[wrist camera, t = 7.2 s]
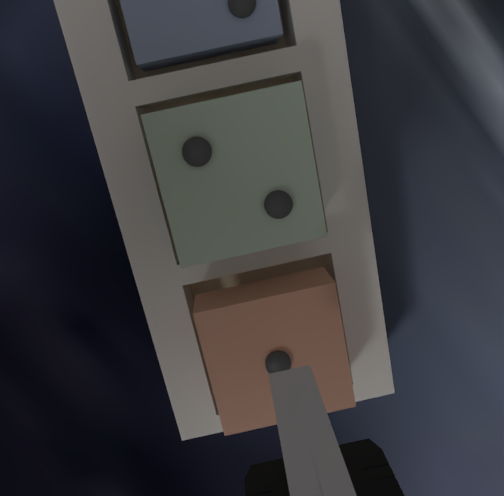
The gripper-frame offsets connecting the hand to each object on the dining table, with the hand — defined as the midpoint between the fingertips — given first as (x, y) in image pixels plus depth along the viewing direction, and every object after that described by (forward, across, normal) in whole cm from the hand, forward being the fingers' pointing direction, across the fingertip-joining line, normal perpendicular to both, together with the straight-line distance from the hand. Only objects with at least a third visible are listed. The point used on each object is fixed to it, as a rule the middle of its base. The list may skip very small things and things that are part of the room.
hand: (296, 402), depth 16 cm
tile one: (+6, 0, 0) cm, 6 cm away
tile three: (+8, 0, +16) cm, 18 cm away
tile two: (+6, 0, +8) cm, 10 cm away
